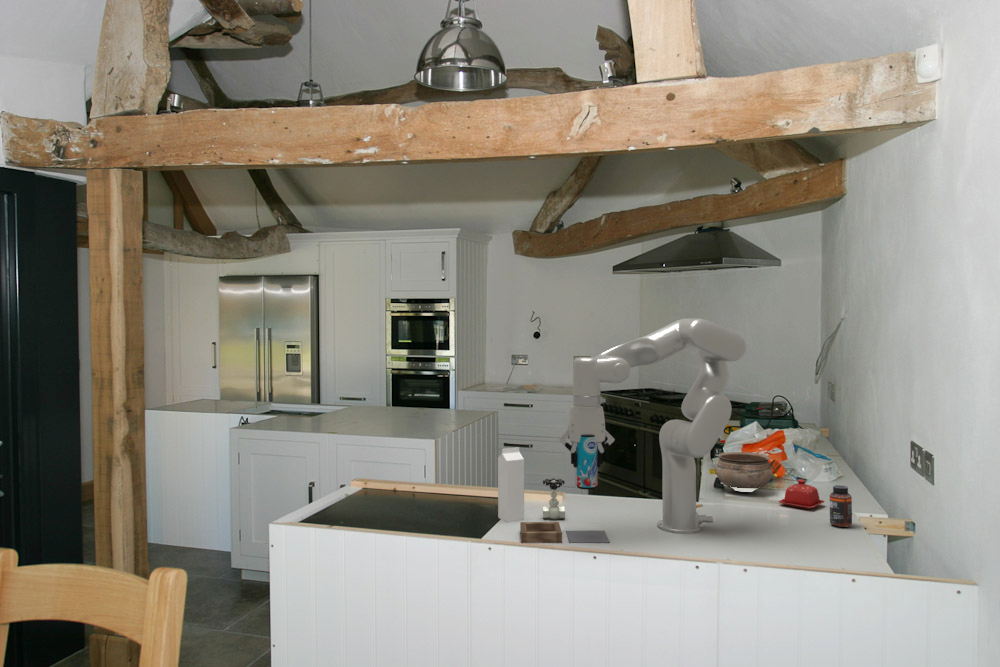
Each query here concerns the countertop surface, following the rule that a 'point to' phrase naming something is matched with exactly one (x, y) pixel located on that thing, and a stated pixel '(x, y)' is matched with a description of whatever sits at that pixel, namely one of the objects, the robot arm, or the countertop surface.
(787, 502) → the butter dish
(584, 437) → the beverage can
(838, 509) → the supplement bottle
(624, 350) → the robot arm
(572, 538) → the charcoal rubber mat
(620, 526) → the countertop surface
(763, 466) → the cooking pot
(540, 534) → the walnut socket block
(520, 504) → the milk
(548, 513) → the valve
